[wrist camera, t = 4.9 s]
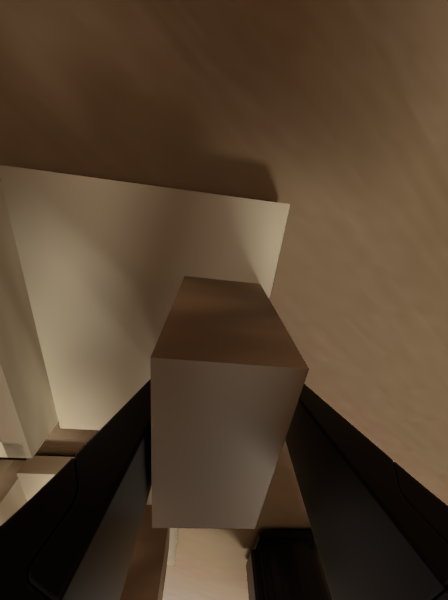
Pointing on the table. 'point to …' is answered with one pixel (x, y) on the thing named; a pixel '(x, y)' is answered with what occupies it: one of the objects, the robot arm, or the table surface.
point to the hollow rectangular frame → (150, 541)
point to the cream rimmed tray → (149, 332)
